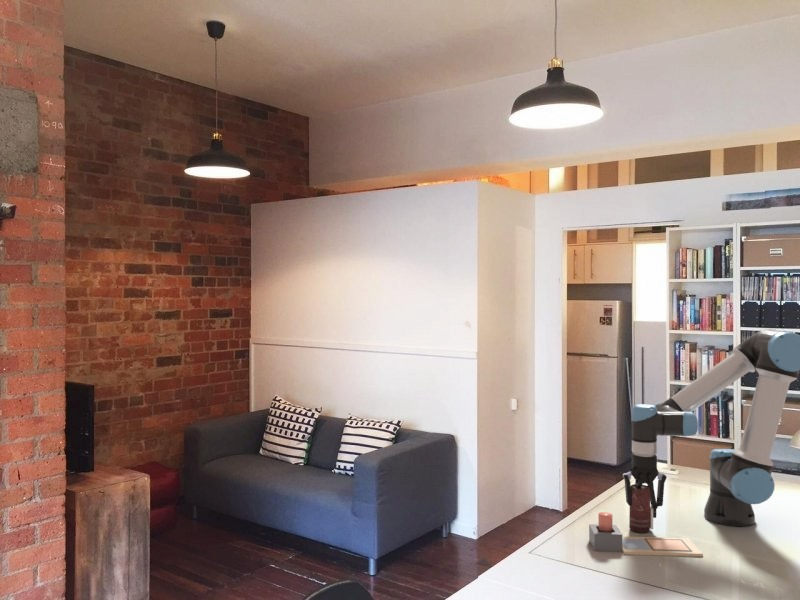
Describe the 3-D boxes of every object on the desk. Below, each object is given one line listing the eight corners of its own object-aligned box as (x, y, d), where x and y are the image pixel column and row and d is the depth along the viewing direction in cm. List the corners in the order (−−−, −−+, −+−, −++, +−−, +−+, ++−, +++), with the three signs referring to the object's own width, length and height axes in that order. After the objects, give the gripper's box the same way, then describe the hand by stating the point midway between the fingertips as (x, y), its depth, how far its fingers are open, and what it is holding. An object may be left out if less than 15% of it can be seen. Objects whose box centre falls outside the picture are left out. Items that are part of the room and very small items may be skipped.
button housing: (616, 541, 202) (616, 524, 202) (622, 551, 194) (622, 534, 194) (589, 540, 203) (589, 524, 203) (594, 550, 195) (594, 533, 195)
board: (688, 540, 202) (688, 537, 202) (703, 556, 191) (703, 553, 190) (614, 538, 204) (614, 535, 204) (624, 554, 192) (624, 551, 192)
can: (651, 534, 208) (652, 489, 208) (630, 532, 209) (630, 488, 209) (649, 527, 214) (649, 484, 214) (628, 525, 215) (628, 482, 215)
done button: (610, 527, 201) (610, 512, 200) (613, 531, 197) (613, 516, 197) (597, 526, 201) (597, 511, 201) (599, 531, 197) (599, 516, 197)
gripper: (667, 451, 214) (667, 523, 214) (615, 450, 216) (615, 522, 216) (674, 457, 207) (674, 532, 207) (620, 456, 208) (620, 531, 208)
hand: (644, 527), depth 211 cm, fingers open, 3 cm apart
